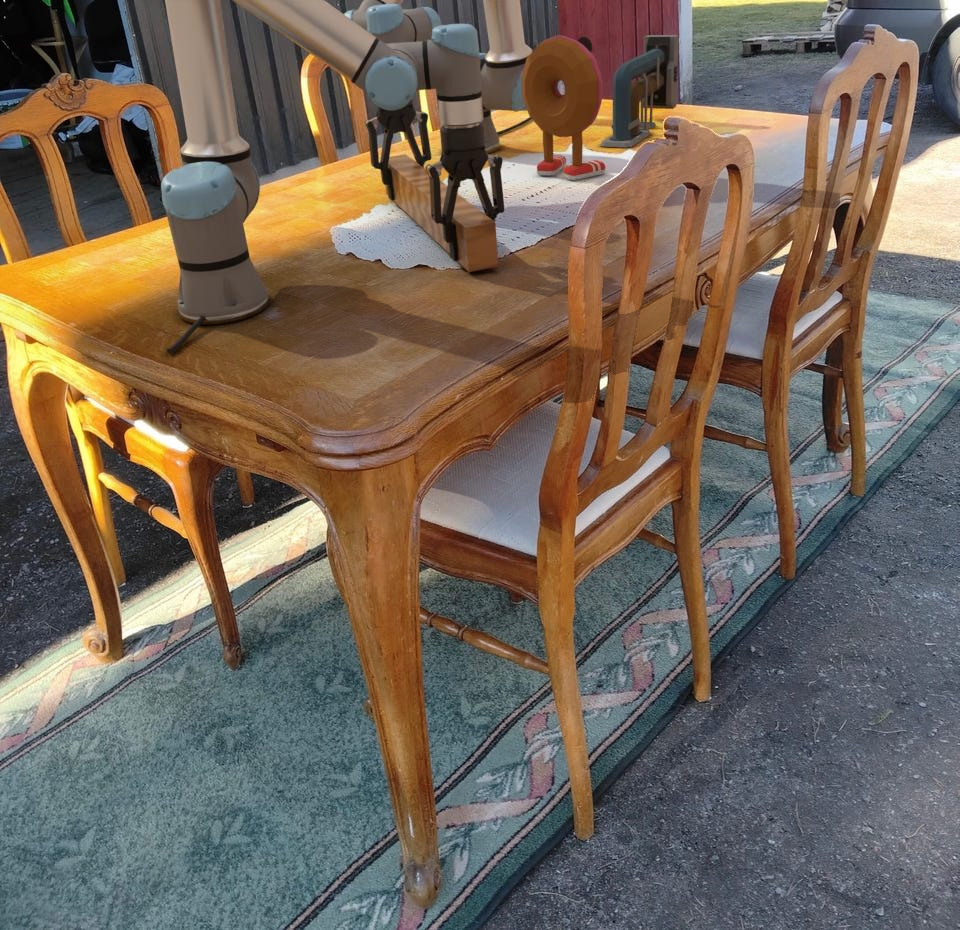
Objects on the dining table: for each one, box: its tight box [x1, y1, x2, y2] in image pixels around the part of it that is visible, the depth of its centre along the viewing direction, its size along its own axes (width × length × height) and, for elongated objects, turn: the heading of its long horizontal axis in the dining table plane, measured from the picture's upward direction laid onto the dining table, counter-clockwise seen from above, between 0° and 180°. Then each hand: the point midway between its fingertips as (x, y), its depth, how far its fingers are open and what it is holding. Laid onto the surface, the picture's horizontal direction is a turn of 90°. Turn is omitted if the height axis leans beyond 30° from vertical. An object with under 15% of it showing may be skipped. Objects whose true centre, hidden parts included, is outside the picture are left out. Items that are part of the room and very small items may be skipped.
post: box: [384, 153, 499, 273], centre depth 194 cm, size 60×6×8 cm, turn 19°
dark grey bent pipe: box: [599, 34, 679, 148], centre depth 253 cm, size 35×9×21 cm, turn 151°
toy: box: [521, 34, 606, 181], centre depth 218 cm, size 21×10×30 cm, turn 47°
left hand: (471, 255), depth 176 cm, fingers closed on post, 6 cm apart
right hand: (405, 196), depth 214 cm, fingers closed on post, 6 cm apart
